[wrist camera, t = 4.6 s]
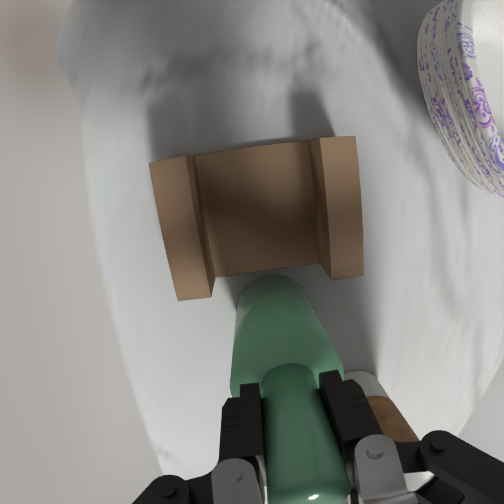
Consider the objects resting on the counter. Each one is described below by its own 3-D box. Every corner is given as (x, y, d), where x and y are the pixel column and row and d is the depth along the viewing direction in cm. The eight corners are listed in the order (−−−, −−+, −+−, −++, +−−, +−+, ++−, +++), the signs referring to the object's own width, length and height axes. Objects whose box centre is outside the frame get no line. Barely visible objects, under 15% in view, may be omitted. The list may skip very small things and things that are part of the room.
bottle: (231, 280, 20) (200, 460, 6) (304, 270, 20) (408, 423, 5) (242, 344, 21) (238, 534, 7) (310, 334, 21) (380, 510, 6)
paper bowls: (531, 103, 16) (587, 103, 8) (484, 225, 20) (549, 253, 12) (428, -14, 13) (478, -49, 5) (357, 104, 17) (421, 79, 9)
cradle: (164, 161, 18) (148, 163, 15) (336, 138, 17) (355, 135, 14) (187, 279, 20) (177, 300, 17) (346, 257, 20) (363, 275, 17)
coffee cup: (401, 355, 23) (481, 484, 9) (373, 417, 26) (419, 533, 11) (313, 360, 23) (363, 530, 8) (296, 424, 25) (319, 561, 11)
